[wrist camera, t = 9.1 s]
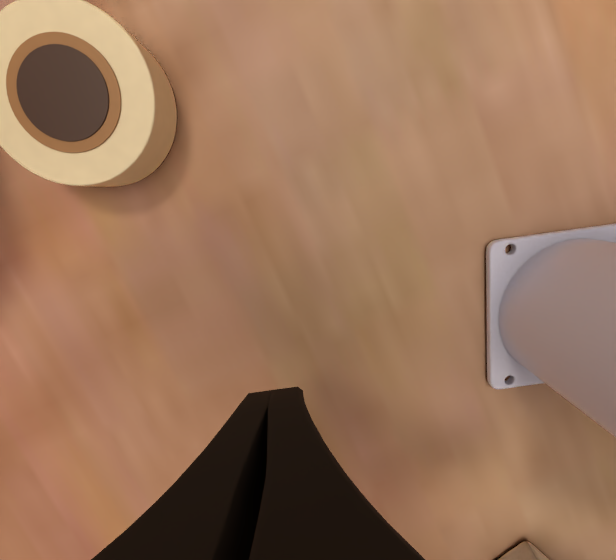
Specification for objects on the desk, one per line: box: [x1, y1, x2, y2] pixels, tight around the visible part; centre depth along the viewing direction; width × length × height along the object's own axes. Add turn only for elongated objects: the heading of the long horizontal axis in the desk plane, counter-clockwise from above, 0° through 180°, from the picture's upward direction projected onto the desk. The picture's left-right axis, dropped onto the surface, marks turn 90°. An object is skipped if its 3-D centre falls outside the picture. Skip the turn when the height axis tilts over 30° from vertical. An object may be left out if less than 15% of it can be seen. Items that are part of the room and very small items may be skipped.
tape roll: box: [0, 0, 177, 187], centre depth 14 cm, size 6×6×3 cm
